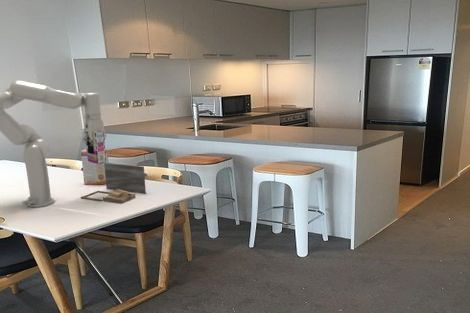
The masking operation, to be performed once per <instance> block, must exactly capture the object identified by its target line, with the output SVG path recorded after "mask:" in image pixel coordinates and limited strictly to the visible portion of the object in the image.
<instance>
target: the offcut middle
mask: <svg viewBox="0 0 470 313" xmlns="http://www.w3.org/2000/svg"><path fill="white" fill-rule="evenodd" d="M126 197H129V195H127V196H124V197H121V198H115V197H112V196H109V195H108V194H107V195H106V196H105V198H112V199H119V200H122V199H124V198H126Z"/></svg>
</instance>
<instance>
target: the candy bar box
mask: <svg viewBox="0 0 470 313" xmlns="http://www.w3.org/2000/svg"><path fill="white" fill-rule="evenodd" d="M93 134H94V141H93V144H92V146H93V148H94V154H89V153H88V146H87V145H86V144H85V145H86V149H87V157H88V161H89V162H93V163H96V164H101V163H106V154H105V149H106V145H105V144H106V142H105V140H104V131H94V132H93ZM90 142H91V141H90Z"/></svg>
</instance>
